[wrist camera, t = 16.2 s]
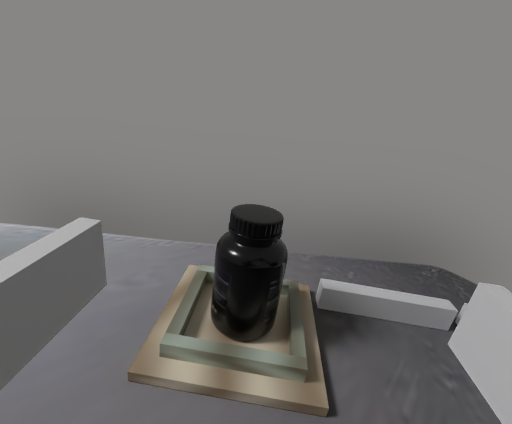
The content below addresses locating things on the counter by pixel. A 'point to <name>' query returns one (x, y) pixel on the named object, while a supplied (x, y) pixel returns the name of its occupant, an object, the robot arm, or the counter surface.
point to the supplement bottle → (248, 273)
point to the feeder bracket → (387, 304)
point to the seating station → (235, 351)
